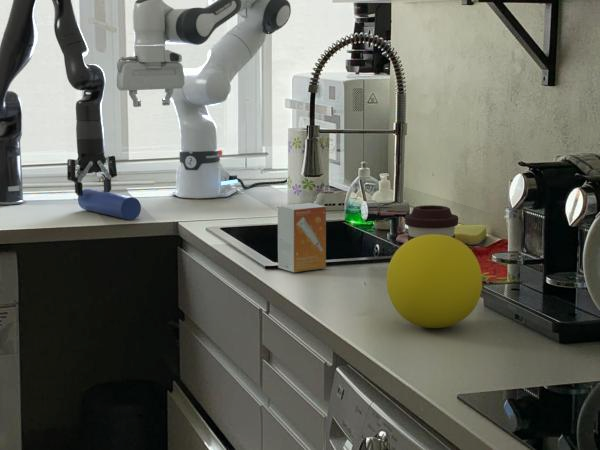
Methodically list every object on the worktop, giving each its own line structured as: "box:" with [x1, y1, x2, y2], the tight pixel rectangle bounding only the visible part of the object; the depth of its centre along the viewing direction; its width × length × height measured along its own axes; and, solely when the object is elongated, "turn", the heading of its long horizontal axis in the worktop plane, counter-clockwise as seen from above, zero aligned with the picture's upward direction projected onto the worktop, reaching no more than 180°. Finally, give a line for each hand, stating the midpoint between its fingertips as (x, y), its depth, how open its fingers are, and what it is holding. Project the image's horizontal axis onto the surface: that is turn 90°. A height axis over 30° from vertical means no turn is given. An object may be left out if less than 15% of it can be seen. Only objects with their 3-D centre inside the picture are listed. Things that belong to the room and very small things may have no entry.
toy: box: [386, 234, 483, 329], centre depth 168 cm, size 15×15×15 cm
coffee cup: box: [404, 204, 459, 241], centre depth 197 cm, size 10×10×15 cm
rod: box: [77, 188, 142, 221], centre depth 288 cm, size 24×6×6 cm, turn 40°
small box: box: [277, 202, 327, 273], centre depth 214 cm, size 8×6×13 cm
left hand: (93, 194), depth 294 cm, fingers open, 8 cm apart
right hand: (151, 106), depth 292 cm, fingers open, 8 cm apart
